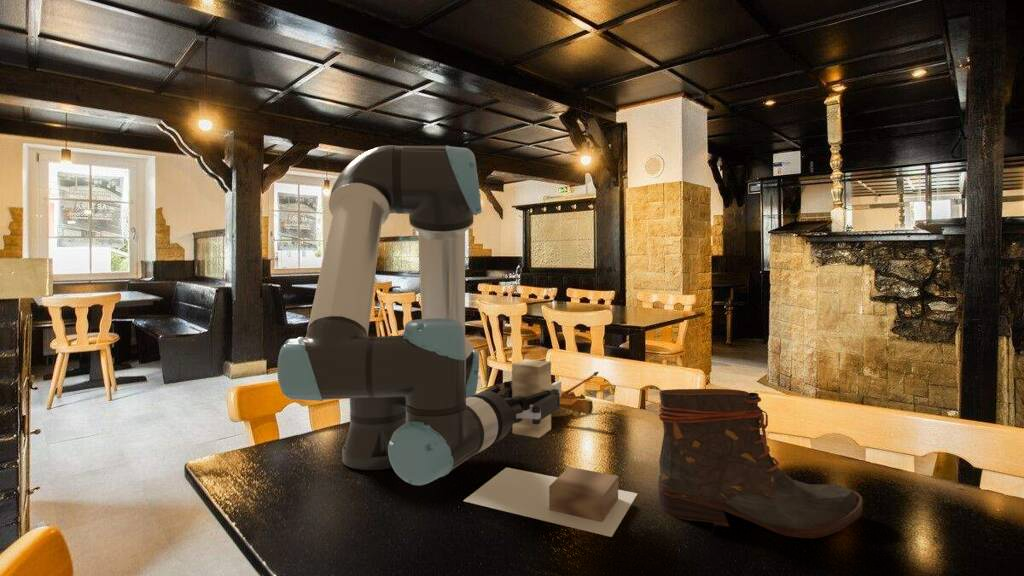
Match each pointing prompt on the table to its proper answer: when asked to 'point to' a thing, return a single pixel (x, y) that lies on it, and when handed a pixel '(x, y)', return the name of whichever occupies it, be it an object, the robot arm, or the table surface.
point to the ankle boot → (738, 469)
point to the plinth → (584, 493)
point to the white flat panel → (542, 501)
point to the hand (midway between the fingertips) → (544, 386)
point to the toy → (576, 401)
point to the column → (531, 392)
